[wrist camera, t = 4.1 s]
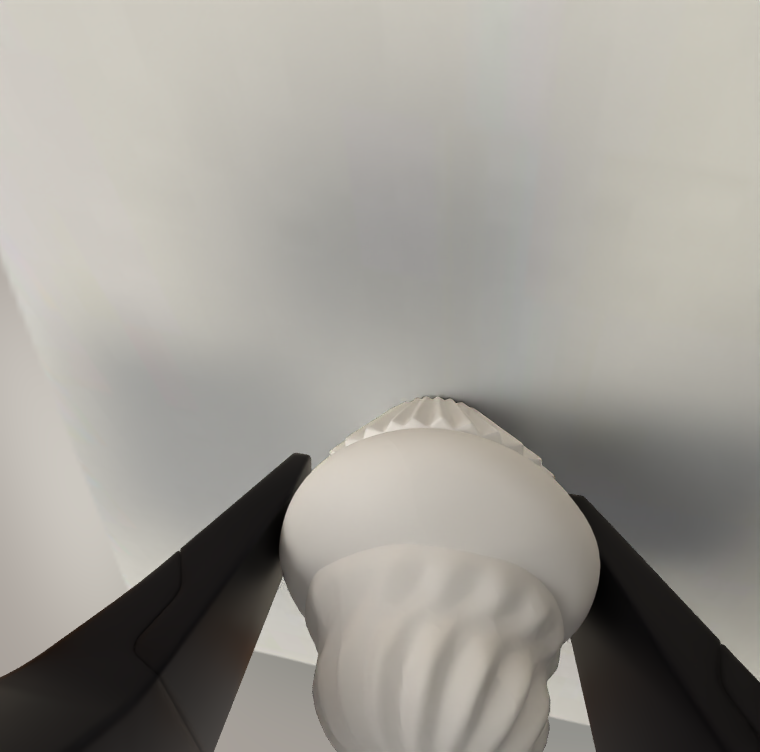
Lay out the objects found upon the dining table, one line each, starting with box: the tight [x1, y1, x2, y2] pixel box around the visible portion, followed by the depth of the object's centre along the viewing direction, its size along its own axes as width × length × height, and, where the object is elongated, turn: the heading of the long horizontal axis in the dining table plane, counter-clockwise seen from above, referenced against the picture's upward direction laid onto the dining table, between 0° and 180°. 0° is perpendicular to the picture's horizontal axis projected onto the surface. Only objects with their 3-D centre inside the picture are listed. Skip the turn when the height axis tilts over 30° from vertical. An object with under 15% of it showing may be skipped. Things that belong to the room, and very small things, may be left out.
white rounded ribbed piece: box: [279, 396, 600, 752], centre depth 8 cm, size 6×6×7 cm
